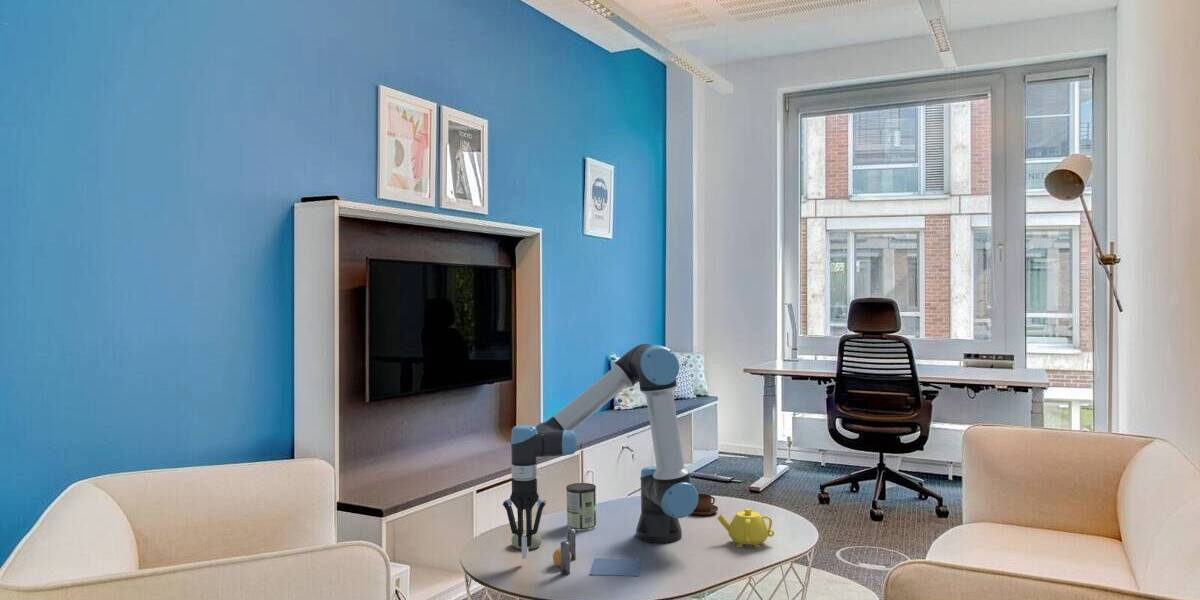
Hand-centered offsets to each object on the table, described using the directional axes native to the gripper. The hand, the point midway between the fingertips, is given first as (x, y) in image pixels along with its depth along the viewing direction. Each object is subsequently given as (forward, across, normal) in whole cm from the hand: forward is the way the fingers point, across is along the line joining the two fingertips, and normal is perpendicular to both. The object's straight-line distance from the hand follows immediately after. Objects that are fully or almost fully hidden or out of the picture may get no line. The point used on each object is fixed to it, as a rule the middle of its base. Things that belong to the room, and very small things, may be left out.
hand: (525, 557), depth 234 cm
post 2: (+2, +13, +6) cm, 15 cm away
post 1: (+2, +13, -6) cm, 15 cm away
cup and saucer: (+3, +54, +61) cm, 82 cm away
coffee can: (+3, +12, +40) cm, 42 cm away
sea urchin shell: (+3, -3, +18) cm, 18 cm away
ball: (0, +11, 0) cm, 11 cm away
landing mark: (+2, +27, 0) cm, 27 cm away
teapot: (+3, +67, +26) cm, 72 cm away
